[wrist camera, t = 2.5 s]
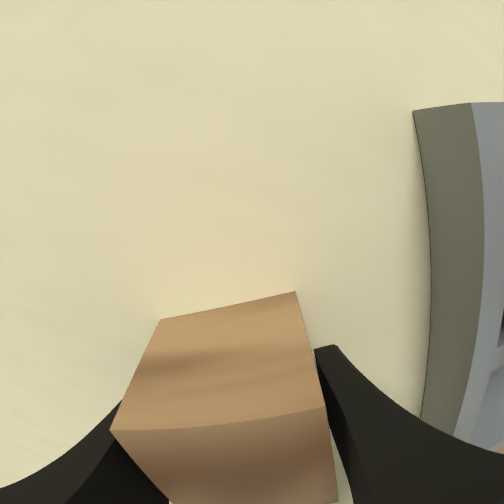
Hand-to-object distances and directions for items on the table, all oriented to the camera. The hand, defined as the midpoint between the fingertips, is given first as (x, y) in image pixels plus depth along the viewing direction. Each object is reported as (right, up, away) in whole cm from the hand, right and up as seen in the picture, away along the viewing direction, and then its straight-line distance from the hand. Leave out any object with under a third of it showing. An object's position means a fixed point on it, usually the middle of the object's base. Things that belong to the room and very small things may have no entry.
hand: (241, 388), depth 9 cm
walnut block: (0, 0, +1) cm, 2 cm away
